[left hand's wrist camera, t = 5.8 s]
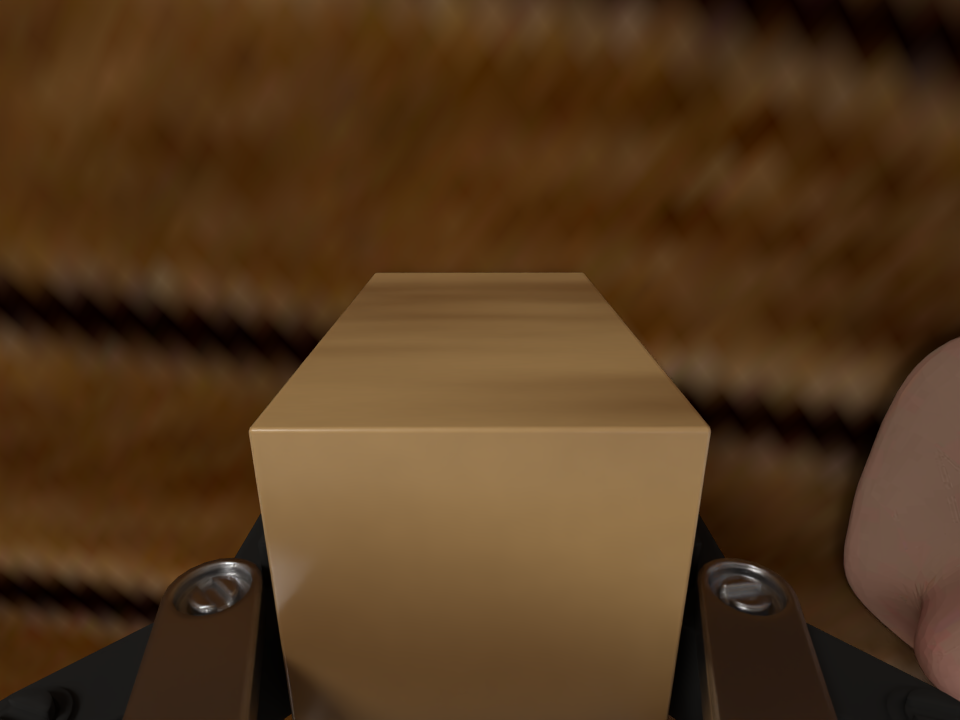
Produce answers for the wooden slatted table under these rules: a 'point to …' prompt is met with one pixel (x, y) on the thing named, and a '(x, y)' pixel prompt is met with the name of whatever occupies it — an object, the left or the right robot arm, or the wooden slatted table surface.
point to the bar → (479, 506)
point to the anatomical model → (914, 519)
